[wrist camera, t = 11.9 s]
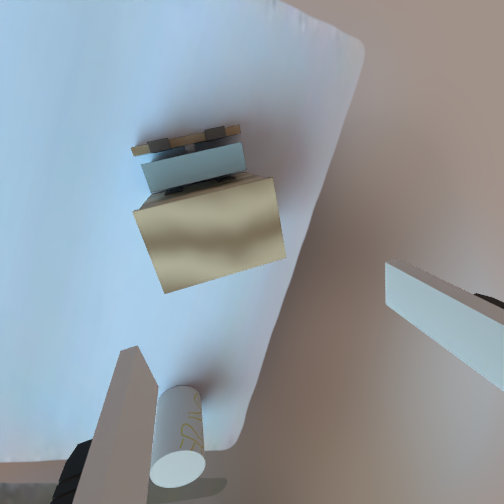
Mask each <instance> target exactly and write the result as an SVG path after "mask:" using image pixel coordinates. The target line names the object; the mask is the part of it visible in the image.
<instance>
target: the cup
mask: <svg viewBox="0 0 504 504" xmlns="http://www.w3.org/2000/svg"><path fill="white" fill-rule="evenodd" d="M204 468H205V453H204V438H203V423H202V409H201V396H200V394H199V392H198V391H197V390H196V389H195V388H193V387H190V386H176V387H173V388H170V389H168V390H167V391H165V392H164V393H163V394H162V395H161V396H160V398H159V400H158V404H157V413H156V422H155V432H154V441H153V451H152V460H151V470H150V478H151V480H152V481H153V482H154V483H155V484H156V485H158V486H161V487H166V488H173V487H179V486H183V485H186V484H188V483H190V482H192V481H193V480H195V479H196V478H197V477H199V476H200V474H201V473H202V472H203V470H204Z"/></svg>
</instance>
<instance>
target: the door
mask: <svg viewBox="0 0 504 504" xmlns="http://www.w3.org/2000/svg"><path fill="white" fill-rule="evenodd" d="M184 147H185V150H186V155H181V156H177V157H172V158H168V159H163V160H159V161H154V162H150V163H145V164H141V166H142V169H143V172H144V175H145V177H146V180H147V183H148V186H149V189H150V191H151V193H152V192H156V191H160V190H164V189H169V188H173V187H177V186H181V185H185V184H189V183H194V182H198V181H202V180H206V179H210V178H214V177H218V176H223V175H227V174H231V173H235V172H239V171H243V170H247V168H246V163H245V158H244V154H243V149H242V144H241V142H239V143H235V144H230V145H226V146H221V147H217V148H212V149H208V150H204V151H199V152H196V149H195V145H194V144H189V145H184Z"/></svg>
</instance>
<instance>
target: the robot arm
mask: <svg viewBox="0 0 504 504" xmlns="http://www.w3.org/2000/svg"><path fill="white" fill-rule="evenodd" d="M385 282H386V283H385V284H386V285H385V286H386V287H385V288H386V305H388V306H389V307H390V308H392V309H393V310H394V311H396V312H397V313H398V314H400V315H401V316H403V317H404V318H405V319H406V320H408V321H409V322H411V323H412V324H413V325H415V326H416V327H417V328H419V329H420V330H421V331H423V332H424V333H425V334H427V335H428V336H430V337H431V338H432V339H434V340H435V341H436V342H438V343H439V344H440V345H442V346H443V347H444V348H446V349H447V350H448V351H450V352H451V353H452V354H454V355H455V356H456V357H458V358H459V359H461V360H462V361H463V362H465V363H466V364H467V365H469V366H470V367H471V368H473V369H474V370H475V371H477V372H478V373H479V374H481V375H482V376H484V377H485V378H486V379H488V380H489V381H490V382H492V383H493V384H494V385H496V386H497V387H498V388H500V389H501V390H503V391H504V303H503V302H501V301H499V300H497V299H495V298H492V297H488V296H485V295H481V294H477V293H476V294H471V293H469V292H467V291H465V290H463V289H461V288H459V287H457V286H454V285H452V284H450V283H448V282H446V281H444V280H442V279H440V278H438V277H436V276H434V275H431V274H430V273H428V272H426V271H423V270H421V269H419V268H417V267H415V266H413V265H411V264H409V263H407V262H405V261H403V260H401V259H399V258H396V259H393V260H390V261H387V262H385ZM157 396H158V385H157V383H156V381H155V379H154V377H153V375H152V373H151V371H150V369H149V367H148V365H147V363H146V361H145V359H144V357H143V355H142V353H141V351H140V349H139V347H138V346H134V347H131V348H128V349H125V350H122V351H120V354H119V358H118V361H117V364H116V367H115V370H114V373H113V376H112V380H111V383H110V386H109V389H108V392H107V395H106V399H105V402H104V405H103V408H102V411H101V414H100V418H99V421H98V424H97V427H96V430H95V433H94V436H93V439H91V440H88V441H85V442H83V443H80V444H78V445H77V447H76V448H75V450H74V451H73V453H72V454H71V456H70V457H69V459H68V460H67V462H66V463H65V466H64V469H63V471H62V474H61V477H60V479H59V485H57V487H56V490H55V492H54V495H53V497H52V498H53V501H52V502H51V503H50V504H146V500H147V491H148V481H149V471H150V462H151V453H152V443H153V434H154V424H155V415H156V405H157Z"/></svg>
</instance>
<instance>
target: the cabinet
mask: <svg viewBox="0 0 504 504" xmlns="http://www.w3.org/2000/svg"><path fill="white" fill-rule="evenodd" d="M239 133H241V132H240V127H239V125H236V126H231V127H226V128H224V126H222V127H217V128H212V129H207V130H205V131H204V132H203V133H198V134H193V135H188V136H184V137H179V138H174V139H168V138H165V139H160V140H155V141H150V142H147V144H146V145H141V146H136V147H132V148H131V150H132V153H133V156H140V155H144V154H149V153H157V152H162V151H166V150H171V149H172V148H176V147H181V146H184V145H189V144H195V143H199V142H204V141H205V142H208V141H212V140H217V139H221V138H224V137H227V136H232V135H236V134H239ZM133 215H134V217H135V220H136V222H137V225H138V228H139V230H140V233H141V235H142V238H143V240H144V243H145V245H146V248H147V250H148V253H149V255H150V258H151V261H152V263H153V266H154V268H155V271H156V273H157V276H158V278H159V281H160V283H161V286H162V288H163V291H164V294H166V293H170V292H173V291H177V290H180V289H183V288H187V287H190V286H193V285H197V284H200V283H203V282H207V281H210V280H214V279H217V278H220V277H224V276H227V275H230V274H234V273H237V272H240V271H244V270H247V269H250V268H254V267H257V266H261V265H264V264H267V263H271V262H274V261H277V260H281V259H284V258H286V253H285V247H284V241H283V235H282V229H281V223H280V217H279V211H278V205H277V199H276V193H275V187H274V181H273V177H268V178H263V177H259V176H256V175H253V174H249V173H246V172H245V173H241V174H237V175H232V176H231V175H229V176H225V177H221V178H217V179H215V180H212V181H207V182H203V183H199V184H195V185H191V186H187V187H180V188H175V189H171V190H167V191H166V192H162V193H158V194H153V195H150V197H149V198H148V199H147V200H146V202H145V203H144V204H143V205H142V206H141V208H140V209H139V210H135V211H133Z"/></svg>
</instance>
